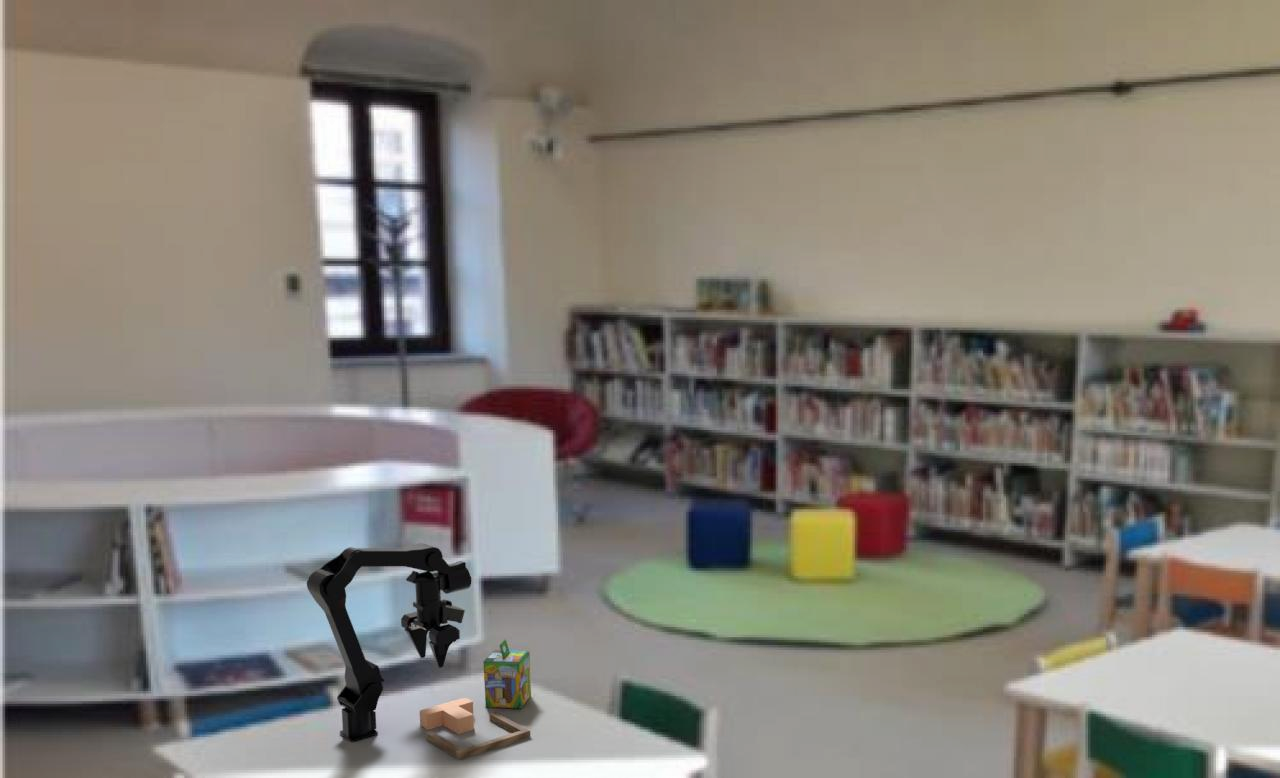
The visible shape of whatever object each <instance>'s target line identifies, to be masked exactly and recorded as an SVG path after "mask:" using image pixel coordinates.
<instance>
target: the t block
mask: <svg viewBox="0 0 1280 778" xmlns="http://www.w3.org/2000/svg"><path fill="white" fill-rule="evenodd" d="M474 715H475V714H474V701H473V700H471V699H469V698H467V697H461V698H458V699H454V700H452V701H448V702H445V703H441V704H438V705H434V706H431V707H430V706H429V707H427V708H424V709H423V708H422V709H419V725H420V726H421V727H423V728H424V729H426V730H431V729H434V728H437V727H441V726H444V727H446V728H447V729H449V730H451V731H452V732H455V733H456V734H458V735H460V734H463V733H467V732H469V731H473V730H475V722H474V721H475V720H474V719H475V718H474Z"/></svg>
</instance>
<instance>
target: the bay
mask: <svg viewBox="0 0 1280 778" xmlns="http://www.w3.org/2000/svg"><path fill="white" fill-rule="evenodd" d="M489 720H490V721H491V722H493V723H494V722H495V724H496V723H497V724H496V725H498V724H499V725H498V726H500V727H502V728H504V729H506V730H507V731H509V732H511V733H508V734H505V735H502V736H499V737H496V738H493V739H489V740H487V741H483V742H480V743H478V744H474V745H471V746H467V747H464V748H461V747H460V746H457V745H456V744H454V743H453V742H451V741H449V740H447V739H446V738H444V737H442V736H441V735H440V734H438V733H436V732H434V731H432V730H430V731H429V732H426V734H425V735H426V739H425V740H427V741H428V742H430V743H431V744H433V745H435V746H436V747H438V748H439V749H441V750H442V751H444V752H446V753H447V754H449V755H450V756H451V757H454V758H455V759H457V760H459V761H462V760H464V759H468V758H470V757H473V756H476V755H480V754H483V753H486V752H489V751H492V750H495V749H498V748H502V747H504V746H507V745H511V744H513V743H517V742H520V741H523V740H526V738H527V739H530V738H531V730H530V729H528V728H526V727H524V726H522V725H520V724H519V723H517V722H515V721H512V720H511V719H509V718H508V717H506V716H504V715H502V714H500V713H498V712H496V711H495V712H492V713H489Z"/></svg>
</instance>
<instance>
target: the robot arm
mask: <svg viewBox="0 0 1280 778" xmlns="http://www.w3.org/2000/svg"><path fill="white" fill-rule="evenodd" d="M466 565H467V564H466V562H465V561H462V560H459V561H456V562H453V563H449V564H448V563H447V561H446V560H445V559H444V558H443V553H442V551H441V549H440V548H439V547H435V546H433V545H430V544H426V543H415V544H410V545H407V546H405V547H400V548H373V547H371V548H368V547H367V548H366V547H365V548H363V547H362V548H358V547H357V548H356V547H352V546H351V547H347V548H345V549H344V550H343V551H342V552H340V553H339V555H337V556H335V557H334V558H332V559H331V560H329V561H327V562H326V563H325V564H323V565H322V566H321V567H320V568H319V569H317V570H314V571H313V572H311V574H310V575H309V576H308V578H307V581H306V587H307V590H308V592H309V594H310V595H311V596H312V598H313V599H314V601H315V602H316V604H317V605H318V606H319V607H320V608H321V610H322V611H323V612H324V614H325V616H326V619H327V622H328V624H329V627H330V630H331V632H332V634H333V636H334V639H335V642H336V645H337V647H338V650H339V652H340V654H341V658H342V660H343V663H344V665H345V670H344V680H345V686H344V687H343V689H342V690H341V691H340V693H339V694H338V695H337V697H336V699H337V702H338V704H339V705H340V706H342V707H343V708H341V718H342V720H341V721H342V730H339V735H341V736H343V737H344V738H345V739H347V740H349V742H355V741H359V740H363V739H366V738H370V737H372V736H376V735H378V734H379V731H377V730H376V729H377V714H376V709H377V705H378V702H379V699H380V696H381V694H382V692H383V691H384V685H383V683H384V682H385V679H384V678H383V677H382V675H381V670H380V667H379V665H378V664H375V663H374V662H371V661H369V660H367V659H366V657H365V654H364V652H363V649H362V647H361V643H360V642H359V639H358V637H357V633H356V631H355V629H354V626H353V624H352V621H351V618H350V615H349V612H348V610H347V608H346V603H347V602H346V601H347V592H346V587H347V586H349V584H350V583H351V582H352V581H353V579H354V578H355V576H356V574H357V573H358V571H359V570H360V569H361V568H363V567H364V568H367V567H369V568H371V567H377V568H378V567H382V568H383V567H406V568H410V569H415V570H419V571H421V572H418V571H415V570H412V571H411V573H410V574H409V575H408V576H407V578H405V579H406V581H407V582H408V583H411V584H415V585H414V586H415V601H413V602H412V606H413V607H414V608H415V609H416V611H414V612H408V613H404V614H403V615H402V617H401V618H400V623H401V624H400V625H401V627H402V628H404V632H406V634H407V636H408V637H409V639H410V640H411V642H412V644H413V646H414V649H415V650H416V652H417V653H418V654H417V655H418V656H419V657H420V658H421V659H424V658H426V656H427V655H426V654H427V641H428V640H427V635H428V638H429V640H430V641H428V644H429V646H430V650H431V651H432V655H433V657H434V660H435V663H436V665H437V667H438V669H441V668H444V665H445V661H446V658H447V654H448V651H449V648H450V646H451V645H452V643H455V642H457V640H460V638H461V632H460V631H461V630H460V629H459V628H458V627H456V626H454V625H452V624H450V623H448V621H449V622H455V623H458V624H462V623H463V620H464V617H465V613H466V609H463V608H461V607H459V606H457V605H453V602H452V601H451V600H449V599H442V596H441V595H442V594H441V591H442V592H443V594H446V595H447V594H452V593H456V592H461V591H465V590H468V589H470V587H471V585H472V576H471V573H470V571H469V569H468V568H467V566H466Z"/></svg>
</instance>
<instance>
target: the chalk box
mask: <svg viewBox="0 0 1280 778" xmlns="http://www.w3.org/2000/svg"><path fill="white" fill-rule="evenodd" d="M504 647H505V649H504ZM482 662H483V679H484V697H485V698H484V701H485V708H498V709H499V708H502V709H503V708H504V709H522V708H523V706H524V705H525V704H526V703H527V702H528V700H529V699H530V698H531V697H532V686H531V684H532V683H531V657H530V650H529V651H528V650H516V649H510V648H509V645H508V643H507V639H503V640H502V641H501V643H500V644H499V649H494V650H493V651H492V652H491V653H490V654H489V655H488V656H487V657H486V658H484V660H483V661H482Z"/></svg>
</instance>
